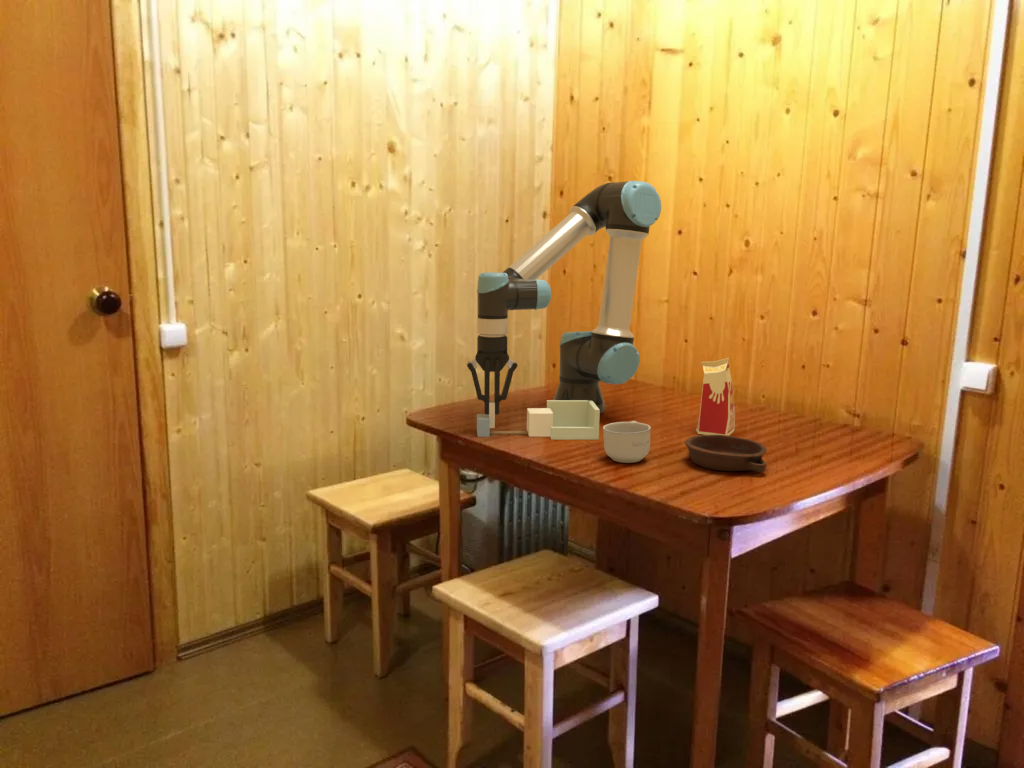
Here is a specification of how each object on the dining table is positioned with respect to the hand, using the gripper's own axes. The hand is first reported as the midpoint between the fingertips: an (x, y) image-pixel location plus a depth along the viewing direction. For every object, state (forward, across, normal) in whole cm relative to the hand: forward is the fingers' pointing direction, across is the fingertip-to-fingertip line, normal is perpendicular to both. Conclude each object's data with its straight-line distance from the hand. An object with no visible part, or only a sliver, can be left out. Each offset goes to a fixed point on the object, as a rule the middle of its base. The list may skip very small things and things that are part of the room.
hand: (491, 426), depth 206 cm
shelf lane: (+2, -21, 0) cm, 21 cm away
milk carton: (+3, -59, -2) cm, 59 cm away
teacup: (+2, -31, +22) cm, 38 cm away
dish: (+3, -52, +27) cm, 58 cm away
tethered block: (+2, -6, 0) cm, 6 cm away
